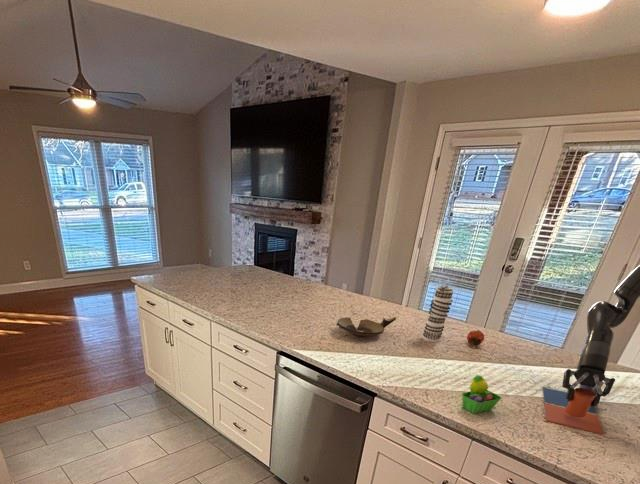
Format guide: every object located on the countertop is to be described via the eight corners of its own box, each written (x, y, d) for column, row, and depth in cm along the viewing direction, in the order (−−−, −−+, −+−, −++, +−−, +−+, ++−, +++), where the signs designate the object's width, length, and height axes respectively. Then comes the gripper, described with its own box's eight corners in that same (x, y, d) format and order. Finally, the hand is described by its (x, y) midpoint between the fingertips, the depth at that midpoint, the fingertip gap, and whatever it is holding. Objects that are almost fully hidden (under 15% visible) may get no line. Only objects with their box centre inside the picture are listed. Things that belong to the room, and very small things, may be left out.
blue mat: (590, 398, 155) (591, 397, 155) (596, 414, 145) (596, 413, 145) (542, 388, 161) (542, 387, 161) (544, 402, 151) (544, 401, 151)
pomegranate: (479, 352, 197) (488, 336, 198) (477, 342, 191) (487, 326, 193) (463, 349, 201) (473, 333, 203) (461, 339, 196) (471, 323, 198)
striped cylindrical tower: (444, 341, 201) (460, 289, 187) (427, 342, 199) (442, 289, 186) (435, 335, 208) (449, 284, 195) (418, 335, 207) (431, 284, 193)
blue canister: (592, 398, 154) (602, 379, 150) (594, 405, 150) (605, 385, 145) (572, 394, 157) (582, 375, 152) (574, 401, 152) (584, 381, 148)
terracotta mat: (596, 416, 144) (597, 415, 144) (602, 434, 134) (603, 433, 134) (544, 403, 150) (544, 403, 150) (546, 421, 140) (546, 420, 140)
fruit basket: (473, 416, 141) (485, 386, 134) (454, 404, 147) (463, 375, 141) (497, 410, 145) (509, 381, 138) (477, 399, 151) (487, 371, 145)
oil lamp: (333, 324, 216) (335, 310, 212) (391, 328, 214) (394, 314, 210) (335, 339, 197) (338, 324, 193) (399, 344, 195) (403, 328, 191)
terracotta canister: (584, 410, 142) (595, 390, 137) (586, 419, 137) (598, 398, 133) (563, 406, 144) (573, 386, 140) (565, 414, 140) (575, 393, 135)
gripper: (573, 348, 139) (560, 393, 136) (625, 358, 133) (612, 405, 131) (565, 357, 145) (552, 400, 143) (614, 367, 140) (602, 412, 138)
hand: (581, 402), depth 137 cm, fingers closed on terracotta canister, 6 cm apart
